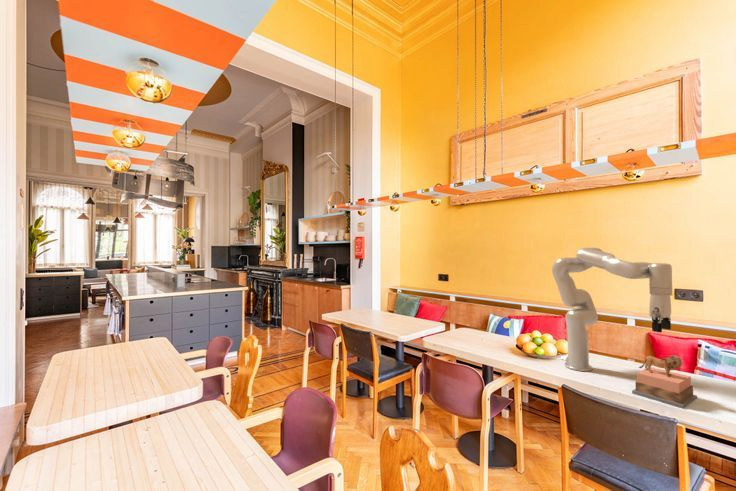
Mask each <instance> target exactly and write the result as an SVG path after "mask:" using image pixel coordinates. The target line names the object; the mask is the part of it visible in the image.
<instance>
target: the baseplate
mask: <svg viewBox="0 0 736 491" xmlns="http://www.w3.org/2000/svg"><path fill="white" fill-rule="evenodd" d="M631 394H633V395H636V396H640V397H642V398H647V399H650V400H653V401H656V402H659V403H664V404H667V405H669V406H673V407H677V408H680V409H685V408H686V407H688V406H689V405H690V404H692V403H693V402H695V401H696V400H697V399H698V395H696V394H693V396H692V397H690V398H689V399H687V400H686V401H684V402H683V403H681V404H679V403H675V402H672V401H669V400H665V399H662V398H658V397H655V396H651V395H648V394H645V393H641V392H638V391H636V388H635V389H632V390H631Z"/></svg>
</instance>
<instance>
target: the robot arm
mask: <svg viewBox="0 0 736 491" xmlns="http://www.w3.org/2000/svg"><path fill="white" fill-rule="evenodd" d="M593 267H595V268H599V269H601V270H605V271H606V272H609V273H610V274H612V275H615V276H618V277H622V278H625V279H629V280H637V279H639V280H640V279H642V280H643V279H649V280H648V281H649V283H648V284H649V295H650V296H649V297H650V298H649V308H648V309H649V311H648V312H649V313H648V315H649V317H650V318H651V331H652V332H655V333H662V332H663V329H664V330H672V329H671V328H672V324H671V321H672V320H671V315H672V303H671V302H672V301H671V300H672V299H671V297H672V296H673V267H672V265H671V264H670V263H666V262H665V263H660V262H659V263H658V262H656V263H655V262H654V263H652V262H644V261H642V262H641V261H638V262H634V261H633V262H630V261H627V260H623V259H618V258H617V257H616V256H615V255H614V254H613V253H611V252H606V251H603V250H602V249H601V248H598V247H583V248H580V249H579V250H577V252H576V256H575V257H561V258H559V259H557V260H556V261H554V263H553V265H552V269H551V271H552V276H553V278H554V280H555V282H556V285H557V289H558V291H559V294H560V297H561V300H562V302H563V304H564V305H565V306H566V307H569V308H573V307H574V308H573V309H570V310H568V311H567V312H566V313H565V316H564V318H565V319H564V320H565V325H566V330H567V331H566V332H567V356H565V355H562V356H561V361H564V362H565V363H564V366H565V367H566V368H568V369H570V370H573V371H578V372H591V371H593V367H592V365H590V360H589V359H590V356H589V354H590V352H589V334H588V331H587V328H586V327H589V326H593V325H595V324H596V323H597V322H598V319H599V315H598V312H597V309H596V306H595V304H594V302H593V298H592V296H591V294H590V293H589V292H588V291H587V290H585V289H582V288H577V286H576V284H575V281H574V279H573V278H572V277H571V275H570V274H571V273H581V272H584V271H586V270H589V269H591V268H593ZM575 307H576V308H575Z"/></svg>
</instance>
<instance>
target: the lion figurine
mask: <svg viewBox="0 0 736 491" xmlns="http://www.w3.org/2000/svg"><path fill="white" fill-rule="evenodd" d="M682 362H683V361H682V358H681V357H680V356H678V355H672V356H669V357H664V358H657V357H655V356H652V355H648V356H646V357H645V358H644V360H643V363H642V364H641V366H639V367H638V369H642V368H643V367H644V369H647V370H649V372H651V373H652V372H653V371H651V370H650V367H652V365H654V366H656V367H657V368H658V369H664V370H665V371H666V376H667V377H671V374H669V372H671V371H675V370H676V369H680V368H681V367H682V366H683V363H682ZM669 375H670V376H669Z"/></svg>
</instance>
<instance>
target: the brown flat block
mask: <svg viewBox="0 0 736 491" xmlns="http://www.w3.org/2000/svg"><path fill="white" fill-rule="evenodd" d="M635 389H636V391H638V392H641V393H645V394H648V395H651V396H655V397H658V398H662V399H665V400H669V401H672V402H675V403H679V404H681V403H683V402H684V401H686V400H687V399H689V398H690V397H692V396H693V395H694V386H693V385H691V386H690V387H688V388H687V389H685V390H684V391H682V392H681V393H676V392H672V391H669V390H665V389H661V388H658V387H654V386H650V385H647V384H643V383H639V382H637V381H635Z"/></svg>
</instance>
